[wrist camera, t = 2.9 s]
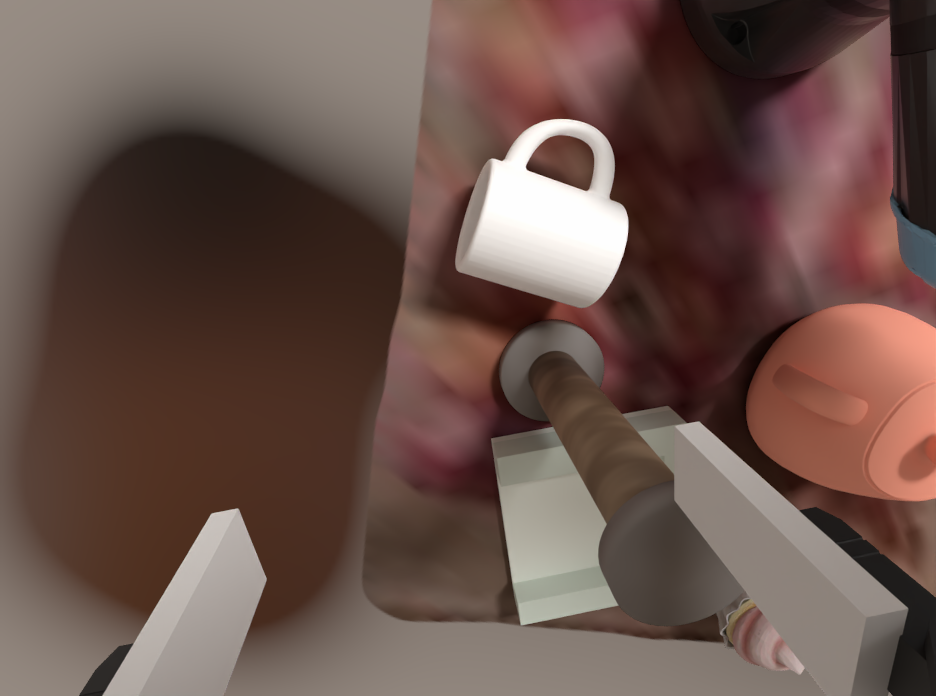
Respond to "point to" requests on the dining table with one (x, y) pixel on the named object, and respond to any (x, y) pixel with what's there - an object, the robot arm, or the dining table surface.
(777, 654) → the cupcake
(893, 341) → the teapot
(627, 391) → the dining table surface
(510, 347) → the bobbin
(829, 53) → the robot arm
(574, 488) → the notched board
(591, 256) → the mug
